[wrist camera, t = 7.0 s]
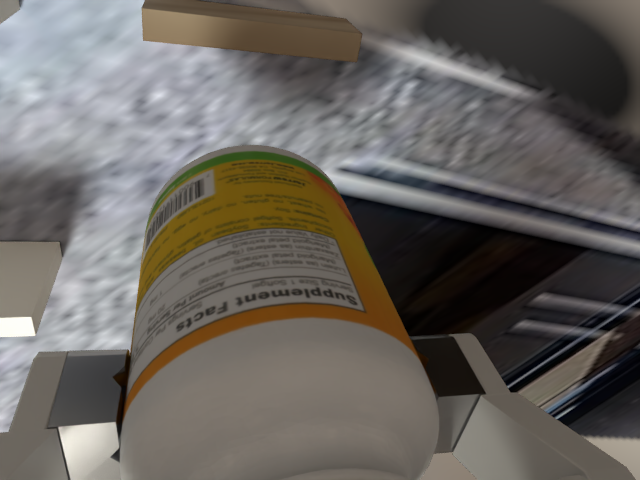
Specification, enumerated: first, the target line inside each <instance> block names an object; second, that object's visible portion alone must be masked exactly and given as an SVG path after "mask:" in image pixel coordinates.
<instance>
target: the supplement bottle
mask: <svg viewBox="0 0 640 480" xmlns="http://www.w3.org/2000/svg"><path fill="white" fill-rule="evenodd" d="M438 434H439V412H438V405H437V401H436V397H435V394H434V391H433V389H432V386H431V384H430V381H429V379H428V377H427V374H426V372H425V370H424V367H423V365H422V363H421V361H420V359H419V357H418V355H417V352H416V350H415V348H414V346H413V344H412V342H411V340H410V338H409V336H408V334H407V332H406V330H405V328H404V326H403V324H402V321H401V319H400V317H399V315H398V313H397V311H396V309H395V307H394V305H393V303H392V300H391V298H390V296H389V294H388V292H387V290H386V288H385V286H384V284H383V282H382V279H381V277H380V275H379V273H378V271H377V269H376V267H375V265H374V263H373V261H372V258H371V256H370V254H369V252H368V250H367V248H366V246H365V244H364V242H363V240H362V238H361V235H360V233H359V231H358V229H357V227H356V225H355V223H354V221H353V219H352V217H351V215H350V213H349V211H348V209H347V207H346V204H345V202H344V201H343V199H342V197H341V195H340V194H339V192H338V190H337V188H336V187H335V185H334V184H333V182H332V181H331V180H330V179H329V177H328V176H327V175H326V174H325V173H324V172H323V171H322V170H321V169H320V168H318V167H317V166H316V165H314V164H313V163H312V162H310V161H308V160H307V159H305V158H303V157H301V156H299V155H297V154H295V153H292V152H290V151H286V150H283V149H279V148H275V147H269V146H261V145H242V146H233V147H228V148H223V149H220V150H217V151H214V152H211V153H208V154H206V155H204V156H202V157H199V158H198V159H196V160H194V161H192V162H191V163H189V164H187V165H186V166H184V167H183V168H182V169H180V170H179V171H178V172H177V173H176V174H175V175H173V176H172V177H171V179H170V180H169V181H168V182H167V183H166V184H165V186H164V187H163V188H162V189H161V191H160V192H159V194H158V196H157V197H156V199H155V202H154V204H153V206H152V208H151V211H150V214H149V218H148V223H147V227H146V233H145V239H144V246H143V253H142V261H141V270H140V279H139V287H138V295H137V303H136V312H135V320H134V328H133V336H132V344H131V352H130V360H129V368H128V376H127V384H126V393H125V400H124V407H123V416H122V430H121V445H120V475H121V480H420V479H421V478H422V476H423V475H424V473H425V471H426V469H427V468H428V466H429V464H430V462H431V459H432V456H433V454H434V451H435V448H436V445H437V441H438Z"/></svg>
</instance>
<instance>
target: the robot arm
mask: <svg viewBox="0 0 640 480" xmlns="http://www.w3.org/2000/svg"><path fill="white" fill-rule="evenodd" d="M409 338H410V340H411V342H412V344H413V346H414V348H415V350H416V352H417V355H418V357H419V359H420V361H421V363H422V365H423V367H424V370H425V372H426V374H427V377H428V379H429V381H430V384H431V386H432V389H433V391H434V394H435V397H436V401H437V405H438V412H439V434H438V441H437V445H436V448H435V451H434V453H447V452H453V453H452V454H453V456H454V457H455V458H456V459H457V460H458V461H460V463H462V465H463V466H465V468H467V469H468V470H469V471H470V472H471V473H472V474H473V475H474V476H475V477H476V478H477V479H478V480H636V479H635V478H634V477H633V475H632V474H631V473H630V471H629V470H628V469H627V467H625V466H624V465H623V464H621V463H620V462H618V461H617V460H615V459H614V458H612V457H611V456H609V455H608V454H606V453H605V452H603V451H602V450H601V449H599V448H598V447H596V446H595V445H593V444H592V443H590V442H589V441H587V440H586V439H584V438H583V437H582V436H580V435H579V434H577V433H576V432H574V431H573V430H571V429H570V428H568V427H567V426H565V425H564V424H562V423H561V422H560V421H558V420H557V419H555V418H554V417H552V416H551V415H549V414H548V413H546V412H545V411H543V410H542V409H540V408H539V407H538V406H536V405H535V404H533V403H532V402H530V401H529V400H527V399H526V398H524V397H523V396H521V395H520V394H519V393H511V392H510V391H509V389H508V388H507V386H506V384H505V383H504V381H503V380H502V378H501V376H500V375H499V373H498V372H497V370H496V368H495V367H494V365H493V364H492V362H491V360H490V359H489V357H488V356H487V354H486V352H485V351H484V349H483V348H482V346H481V344H480V343H479V341H478V340H477V338H476V337H475V336H474V335H472V334H471V333H465V334H449V335H446V334H444V335H426V336H409ZM129 360H130V353H129V350H128V349H127V350H80V351H56V352H39V353H38V354H37V355H36V357H35V358H34V359H33V362H32V365H31V368H30V371H29V374H28V376H27V379H26V382H25V385H24V388H23V391H22V394H21V397H20V400H19V403H18V406H17V408H16V411H15V414H14V417H13V420H12V423H11V426H10V429H9V432H3V433H0V480H121V475H120V445H121V430H122V416H123V407H124V400H125V393H126V384H127V376H128V368H129Z"/></svg>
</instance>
